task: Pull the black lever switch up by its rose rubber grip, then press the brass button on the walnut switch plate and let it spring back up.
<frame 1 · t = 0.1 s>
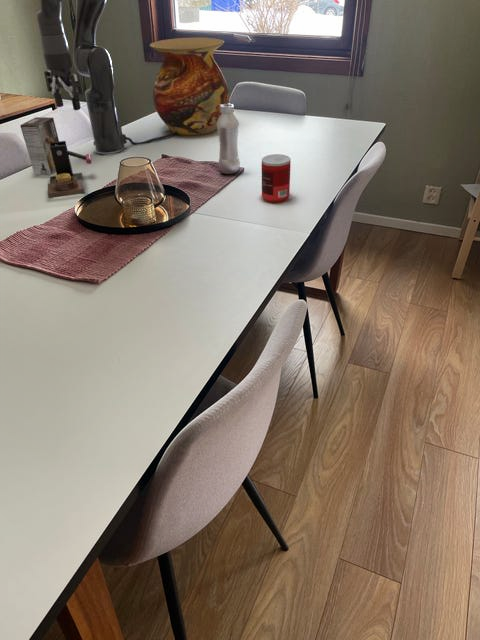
hand: (68, 108, 159), 17 cm above the table, tool pointing down, fingers open, 8 cm apart
plastic bottle: (229, 173, 156), on the table
vase: (194, 129, 197), on the table
canned food: (275, 198, 139), on the table
lever bracket: (67, 182, 153), on the table
coffee box: (50, 173, 161), on the table
button: (63, 178, 144), point 4 cm above the table, slide at 0.1 cm
lever: (72, 154, 149), point 8 cm above the table, hinge at -25.0°
switch plate: (67, 193, 146), on the table
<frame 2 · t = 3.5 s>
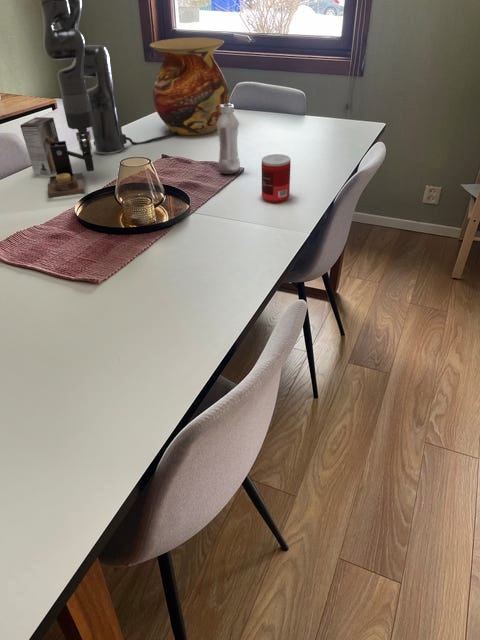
hand: (90, 167, 153), 4 cm above the table, tool pointing down, fingers closed on lever, 5 cm apart
lever: (72, 154, 149), point 8 cm above the table, hinge at -25.1°, touching gripper
everything else where it was.
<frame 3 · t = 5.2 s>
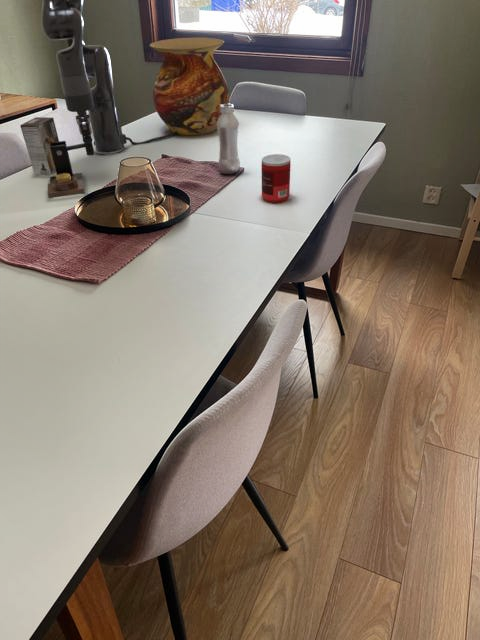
hand: (90, 151, 150), 8 cm above the table, tool pointing down, fingers closed on lever, 5 cm apart
lever: (72, 147, 148), point 10 cm above the table, hinge at 4.3°, touching gripper
everything else where it was.
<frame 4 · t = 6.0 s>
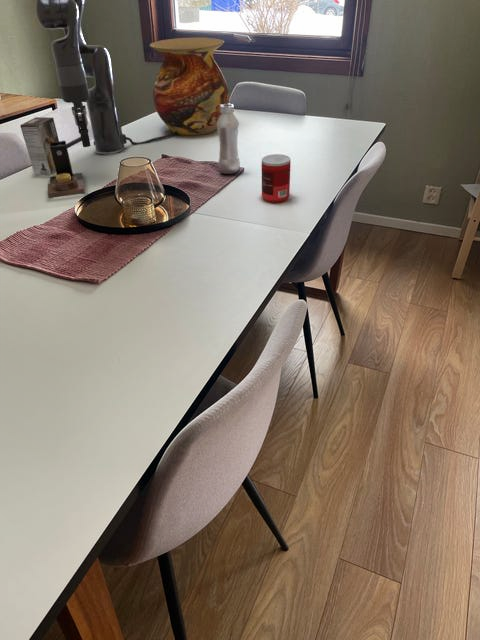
hand: (86, 143, 149), 11 cm above the table, tool pointing down, fingers closed on lever, 5 cm apart
lever: (71, 143, 148), point 11 cm above the table, hinge at 20.2°, touching gripper
everything else where it was.
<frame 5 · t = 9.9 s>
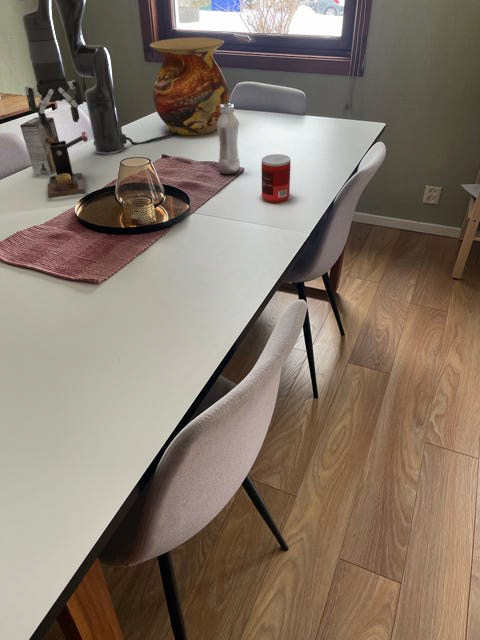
hand: (61, 124, 139), 18 cm above the table, tool pointing down, fingers open, 8 cm apart
lever: (70, 143, 148), point 11 cm above the table, hinge at 20.7°
everything else where it was.
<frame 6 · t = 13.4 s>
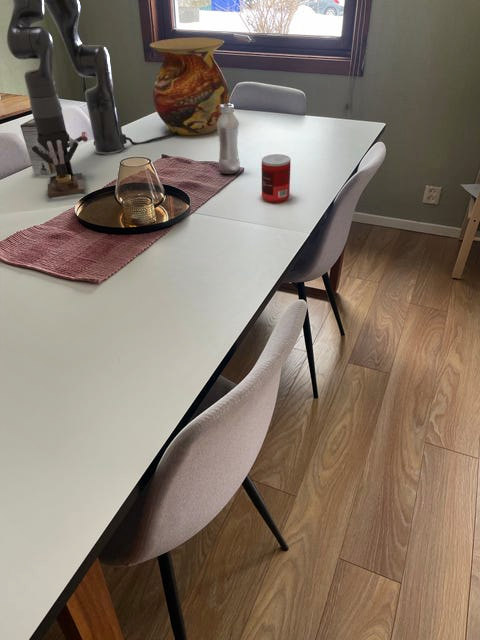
hand: (62, 176, 143), 5 cm above the table, tool pointing down, fingers closed
button: (63, 179, 144), point 4 cm above the table, slide at -0.1 cm, touching gripper
everything else where it was.
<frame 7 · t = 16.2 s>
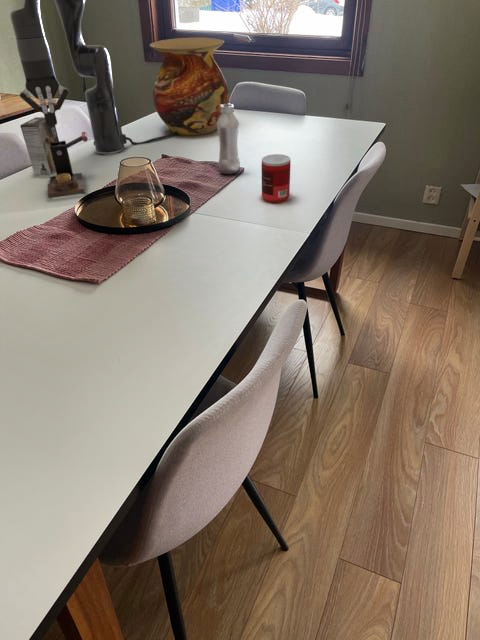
hand: (52, 126, 138), 18 cm above the table, tool pointing down, fingers closed
button: (63, 178, 144), point 4 cm above the table, slide at 0.1 cm
everything else where it was.
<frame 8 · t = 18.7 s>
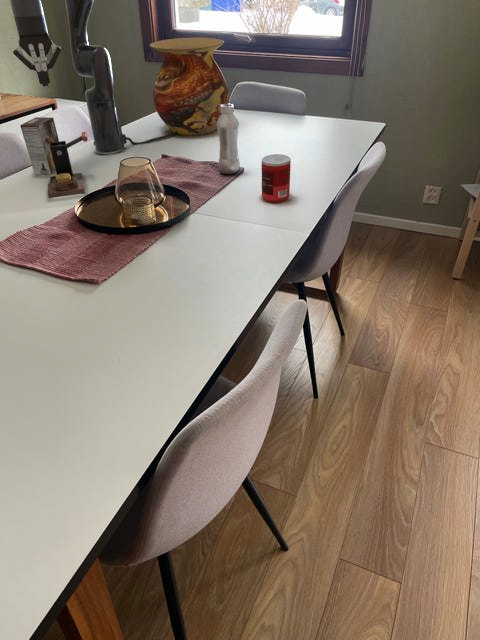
hand: (45, 85, 140), 27 cm above the table, tool pointing down, fingers closed
nothing on the table moved.
at the end: lever at +21° (first picture: -25°); button pushed in 1.1 cm at the most during the clip, back to where it started at the end; button slide at 0.1 cm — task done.
